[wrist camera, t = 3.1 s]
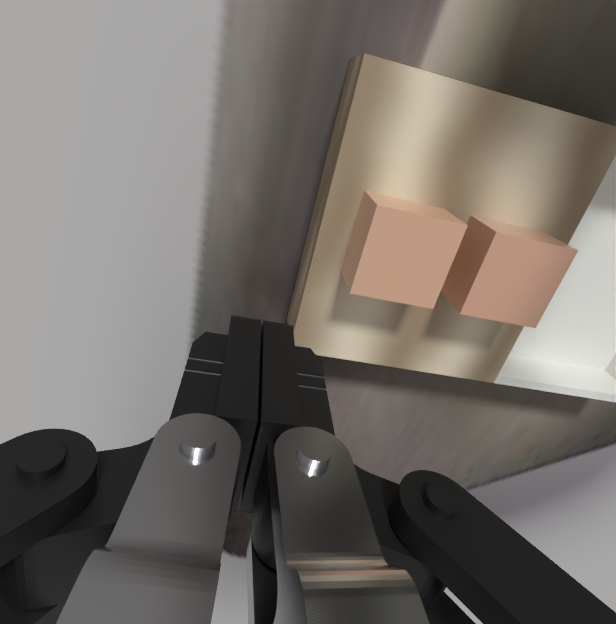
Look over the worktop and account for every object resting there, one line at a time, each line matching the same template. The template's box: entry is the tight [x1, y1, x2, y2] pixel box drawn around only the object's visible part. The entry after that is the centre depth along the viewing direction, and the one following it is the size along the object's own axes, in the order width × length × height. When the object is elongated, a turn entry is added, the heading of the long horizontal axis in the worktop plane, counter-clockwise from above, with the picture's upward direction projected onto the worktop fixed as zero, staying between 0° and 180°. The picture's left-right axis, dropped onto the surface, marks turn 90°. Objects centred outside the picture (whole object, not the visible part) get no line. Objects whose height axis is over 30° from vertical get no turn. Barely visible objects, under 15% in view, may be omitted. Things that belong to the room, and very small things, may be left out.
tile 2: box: [441, 215, 578, 328], centre depth 23 cm, size 4×4×3 cm
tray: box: [494, 156, 616, 402], centre depth 27 cm, size 12×16×4 cm
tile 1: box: [341, 190, 468, 309], centre depth 22 cm, size 4×4×3 cm
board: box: [287, 53, 616, 383], centre depth 25 cm, size 14×16×4 cm
